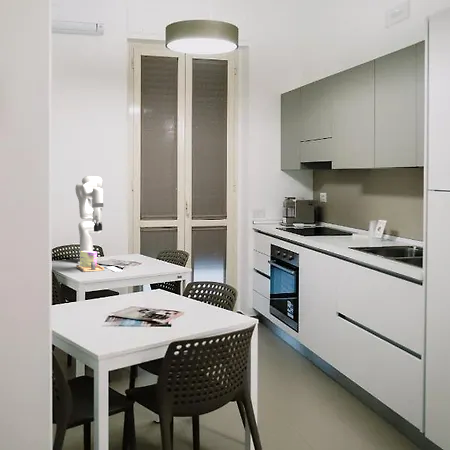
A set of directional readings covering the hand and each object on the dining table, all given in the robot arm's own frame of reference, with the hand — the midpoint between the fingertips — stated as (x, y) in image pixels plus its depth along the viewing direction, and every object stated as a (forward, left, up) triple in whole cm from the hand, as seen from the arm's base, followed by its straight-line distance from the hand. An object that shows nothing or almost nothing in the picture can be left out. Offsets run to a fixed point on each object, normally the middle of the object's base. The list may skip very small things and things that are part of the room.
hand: (98, 230), depth 400 cm
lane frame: (-13, -2, -28) cm, 31 cm away
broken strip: (-5, +13, -28) cm, 31 cm away
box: (-17, -2, -28) cm, 33 cm away
